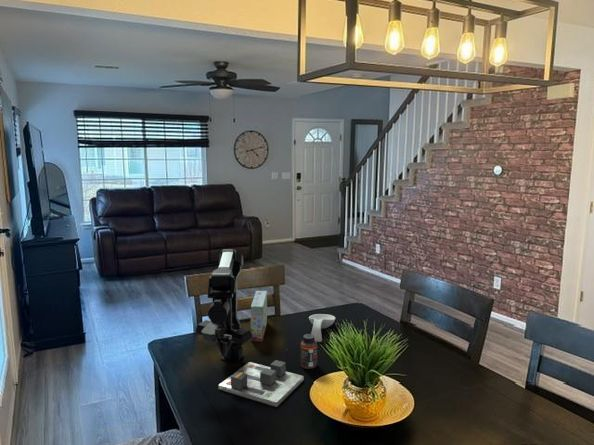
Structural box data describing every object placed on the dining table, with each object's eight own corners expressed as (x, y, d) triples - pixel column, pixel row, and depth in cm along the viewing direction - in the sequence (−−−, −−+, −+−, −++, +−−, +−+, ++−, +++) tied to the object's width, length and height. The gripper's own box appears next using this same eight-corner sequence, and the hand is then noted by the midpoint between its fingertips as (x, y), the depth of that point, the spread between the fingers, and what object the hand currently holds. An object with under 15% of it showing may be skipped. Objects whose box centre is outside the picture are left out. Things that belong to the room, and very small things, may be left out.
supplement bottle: (315, 370, 158) (315, 340, 156) (299, 368, 159) (299, 338, 157) (318, 362, 164) (318, 333, 162) (302, 361, 165) (302, 332, 163)
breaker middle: (260, 382, 147) (260, 372, 146) (265, 377, 150) (265, 368, 149) (270, 385, 145) (270, 375, 144) (276, 380, 148) (276, 370, 147)
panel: (218, 389, 146) (218, 384, 146) (249, 365, 162) (249, 361, 161) (276, 407, 136) (276, 402, 135) (303, 380, 151) (303, 375, 151)
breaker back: (270, 373, 152) (270, 364, 152) (275, 369, 155) (275, 360, 155) (280, 376, 150) (280, 366, 150) (285, 372, 153) (285, 362, 153)
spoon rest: (310, 320, 205) (310, 305, 204) (336, 321, 203) (336, 306, 202) (302, 341, 182) (302, 324, 181) (331, 343, 180) (331, 326, 179)
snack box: (263, 342, 182) (263, 306, 179) (250, 341, 182) (249, 306, 179) (267, 321, 203) (267, 289, 200) (255, 321, 203) (254, 289, 200)
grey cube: (230, 386, 144) (230, 375, 144) (237, 381, 147) (237, 371, 147) (241, 389, 142) (240, 378, 142) (247, 384, 145) (247, 374, 145)
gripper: (183, 314, 141) (185, 360, 143) (231, 324, 132) (233, 373, 135) (205, 303, 150) (207, 346, 153) (252, 312, 142) (253, 358, 145)
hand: (224, 356), depth 146 cm, fingers closed
